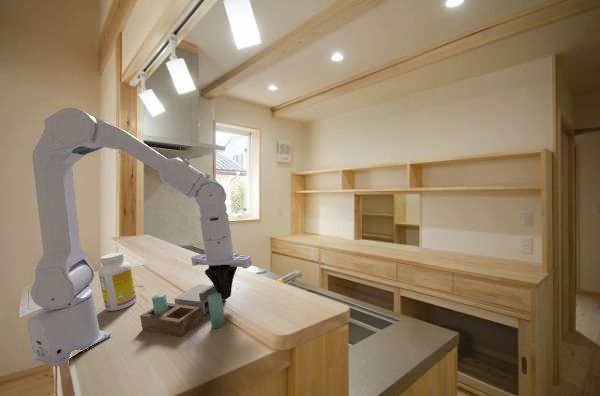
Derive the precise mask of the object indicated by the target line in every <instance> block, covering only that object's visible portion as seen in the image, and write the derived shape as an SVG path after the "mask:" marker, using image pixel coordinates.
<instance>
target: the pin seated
mask: <svg viewBox="0 0 600 396" xmlns="http://www.w3.org/2000/svg"><path fill="white" fill-rule="evenodd" d="M167 300H168V299H167V294H166V293H165V292H163V293H158V294H156V295H154V296H152V297H151V302H152V306H153V308H154V314H155V315H158V316H161V315H162V314H164V313H166V312H167V311H169V310H168V304H167V303H168V301H167Z"/></svg>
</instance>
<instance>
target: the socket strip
mask: <svg viewBox="0 0 600 396" xmlns="http://www.w3.org/2000/svg"><path fill="white" fill-rule="evenodd" d="M167 304H168V310H169V311H167V312H166V313H164V314H162V315H161V316H158V315H155V314H154V308H151V309H149V310H147V311H145V312H143V313H142V314H141V315H139V317H140V322H141V323H140V324H141V328H142V330H144V331H147V332H154V333H158V334H163V335H169V336H175V337H178V338H182V337H184V336H185V335H186V334H188V333H189V332H190V331H191V330H193V329H194V328H196V327H197V326H198V325H200V324H201V323H202V322H203V315H201V308H200V307H194V306H187V305H179V304H175V303H171V302H167Z"/></svg>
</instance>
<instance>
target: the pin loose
mask: <svg viewBox="0 0 600 396" xmlns="http://www.w3.org/2000/svg"><path fill="white" fill-rule="evenodd" d="M207 298H208V305H209V315H210V316H209V317H210V318H209V319H210V324H211V328H212V329H220V328H222V327H225V325H226V318H225V312H224V306H223V305H224V303H223V300H222V297H221V294H220V293H214V294H211V295H209V296H208V297H207Z"/></svg>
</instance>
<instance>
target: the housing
mask: <svg viewBox="0 0 600 396" xmlns="http://www.w3.org/2000/svg"><path fill="white" fill-rule="evenodd" d="M214 293H218V292H217V290H216V288H215V286H214V284H213V283H212V285H208V284H207V285H206V284H197V285H195V286H193V287H192V288H190V289H188V290H186V291H185V292H183V293H181V294H179V295H177V296H176V297H174V299H173V300H174V304H179V305H187V306H194V307H200V308H201V315H202V316H205V315H206V314H207V312H206V310H205V304H204V303H205V302H207V301H208V298H207V297H208V296H209V295H211V294H214Z"/></svg>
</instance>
